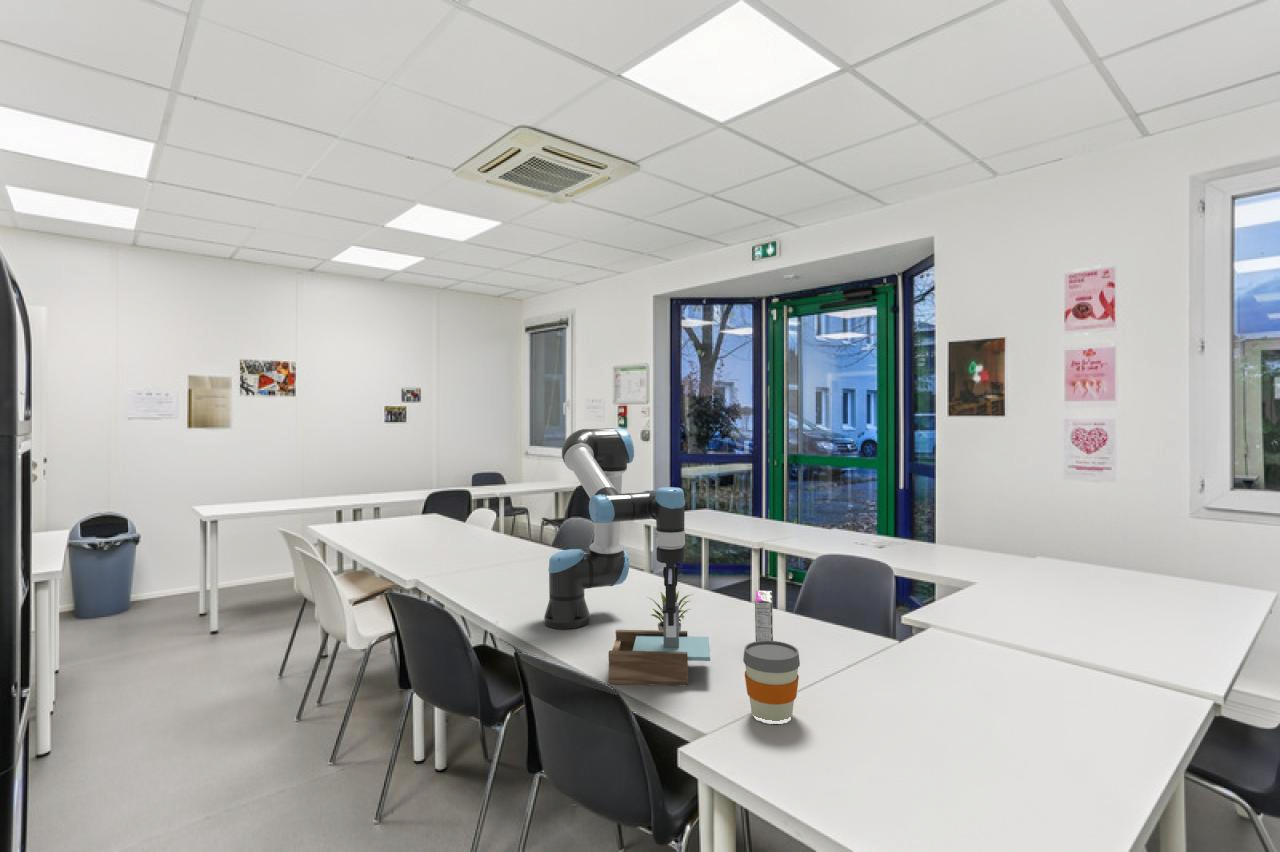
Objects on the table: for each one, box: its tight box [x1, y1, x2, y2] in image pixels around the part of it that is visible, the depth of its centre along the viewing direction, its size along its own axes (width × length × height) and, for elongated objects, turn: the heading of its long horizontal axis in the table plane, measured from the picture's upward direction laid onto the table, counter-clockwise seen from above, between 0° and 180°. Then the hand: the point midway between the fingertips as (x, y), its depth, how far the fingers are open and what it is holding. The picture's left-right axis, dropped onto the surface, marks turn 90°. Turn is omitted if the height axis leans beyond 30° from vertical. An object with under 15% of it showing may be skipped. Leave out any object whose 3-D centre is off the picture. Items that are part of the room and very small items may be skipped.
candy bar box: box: [754, 590, 774, 642], centre depth 182 cm, size 11×5×16 cm, turn 168°
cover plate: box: [633, 602, 711, 662], centre depth 168 cm, size 15×20×12 cm
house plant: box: [647, 590, 694, 631], centre depth 188 cm, size 14×14×16 cm
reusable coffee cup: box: [743, 640, 801, 721], centre depth 144 cm, size 13×13×15 cm
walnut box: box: [608, 629, 689, 687], centre depth 169 cm, size 17×20×8 cm
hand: (671, 634), depth 168 cm, fingers closed on cover plate, 3 cm apart
